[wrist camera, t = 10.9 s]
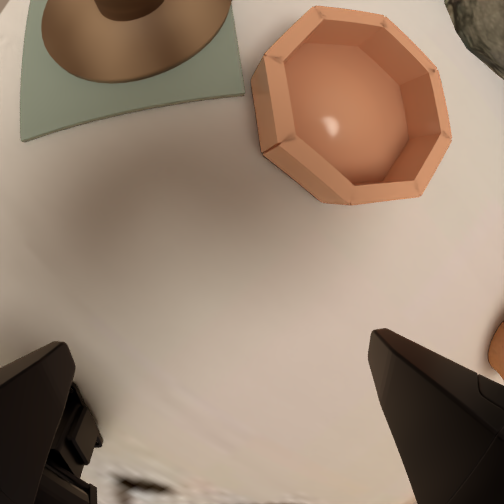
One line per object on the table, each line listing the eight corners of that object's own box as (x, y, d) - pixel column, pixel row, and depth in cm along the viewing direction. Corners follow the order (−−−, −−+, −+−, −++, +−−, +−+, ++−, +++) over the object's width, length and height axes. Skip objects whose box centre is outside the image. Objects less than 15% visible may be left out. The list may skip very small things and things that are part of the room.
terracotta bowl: (267, 210, 20) (287, 214, 16) (242, 36, 18) (254, 3, 14) (419, 191, 22) (458, 192, 18) (392, 44, 20) (424, 24, 15)
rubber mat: (24, 142, 17) (20, 141, 16) (38, -21, 14) (35, -24, 13) (243, 95, 19) (245, 93, 18) (219, -60, 16) (219, -64, 15)
